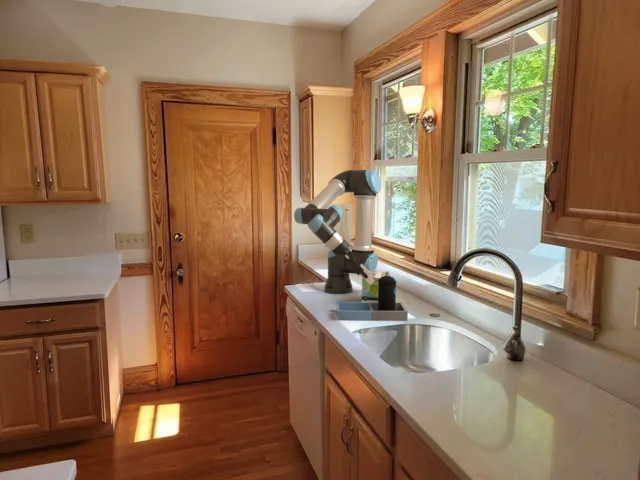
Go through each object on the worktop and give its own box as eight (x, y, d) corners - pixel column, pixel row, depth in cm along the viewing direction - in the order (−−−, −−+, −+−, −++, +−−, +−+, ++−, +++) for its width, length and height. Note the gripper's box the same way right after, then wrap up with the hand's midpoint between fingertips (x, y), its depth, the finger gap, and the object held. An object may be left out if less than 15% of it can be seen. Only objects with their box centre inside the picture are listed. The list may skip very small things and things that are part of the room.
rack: (336, 310, 200) (336, 302, 200) (401, 310, 200) (402, 302, 199) (337, 320, 186) (337, 311, 186) (407, 320, 186) (407, 311, 185)
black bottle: (381, 319, 188) (382, 273, 185) (374, 313, 196) (375, 270, 193) (399, 317, 190) (400, 272, 187) (390, 312, 198) (392, 269, 195)
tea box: (382, 308, 204) (383, 277, 202) (361, 307, 206) (361, 276, 204) (384, 299, 218) (384, 271, 216) (364, 298, 220) (364, 270, 218)
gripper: (330, 246, 201) (362, 278, 202) (331, 255, 176) (367, 292, 178) (342, 235, 200) (374, 267, 202) (344, 242, 175) (380, 279, 177)
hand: (371, 279), depth 190 cm, fingers open, 13 cm apart
